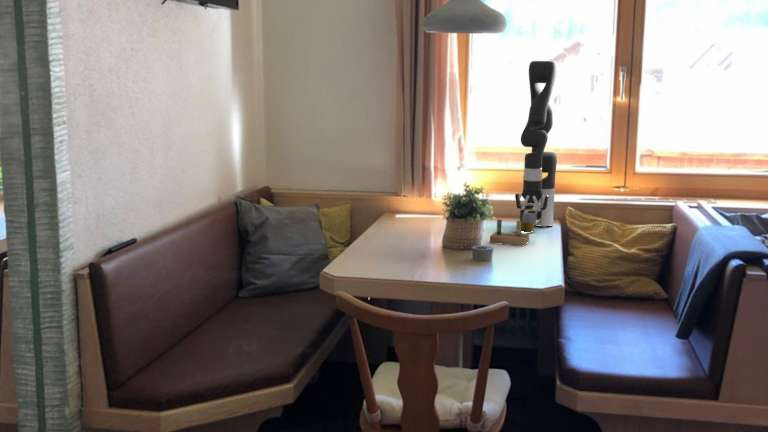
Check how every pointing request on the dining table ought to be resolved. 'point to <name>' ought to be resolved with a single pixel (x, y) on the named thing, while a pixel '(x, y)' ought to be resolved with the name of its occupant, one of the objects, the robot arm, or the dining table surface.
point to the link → (530, 216)
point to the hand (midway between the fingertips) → (531, 218)
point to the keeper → (509, 235)
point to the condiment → (527, 226)
